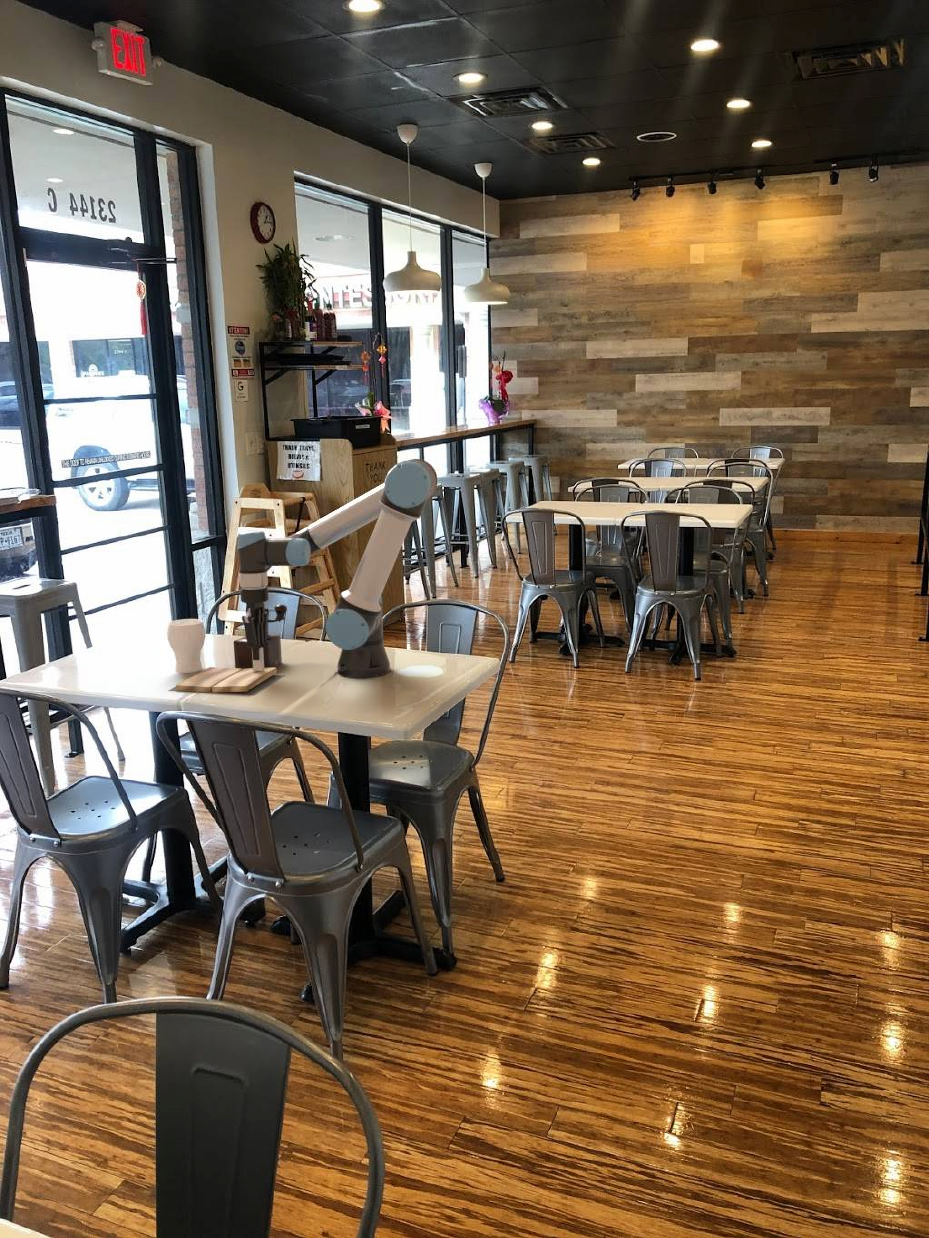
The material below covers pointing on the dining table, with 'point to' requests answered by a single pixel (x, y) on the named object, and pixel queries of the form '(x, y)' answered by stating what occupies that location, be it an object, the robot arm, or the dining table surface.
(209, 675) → the plank
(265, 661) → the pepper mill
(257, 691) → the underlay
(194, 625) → the cup
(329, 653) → the dining table surface
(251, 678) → the plank
